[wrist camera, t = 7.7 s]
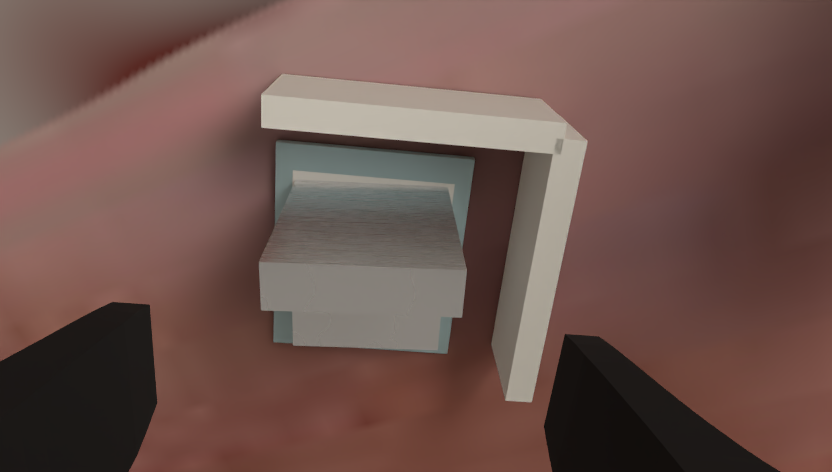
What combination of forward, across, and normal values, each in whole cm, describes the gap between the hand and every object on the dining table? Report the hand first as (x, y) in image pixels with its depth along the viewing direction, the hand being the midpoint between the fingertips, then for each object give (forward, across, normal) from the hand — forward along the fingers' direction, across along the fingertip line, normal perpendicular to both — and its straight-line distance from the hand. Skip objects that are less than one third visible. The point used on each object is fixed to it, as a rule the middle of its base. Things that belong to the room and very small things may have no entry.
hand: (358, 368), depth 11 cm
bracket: (+9, 0, +2) cm, 9 cm away
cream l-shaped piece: (+9, -1, +1) cm, 9 cm away
